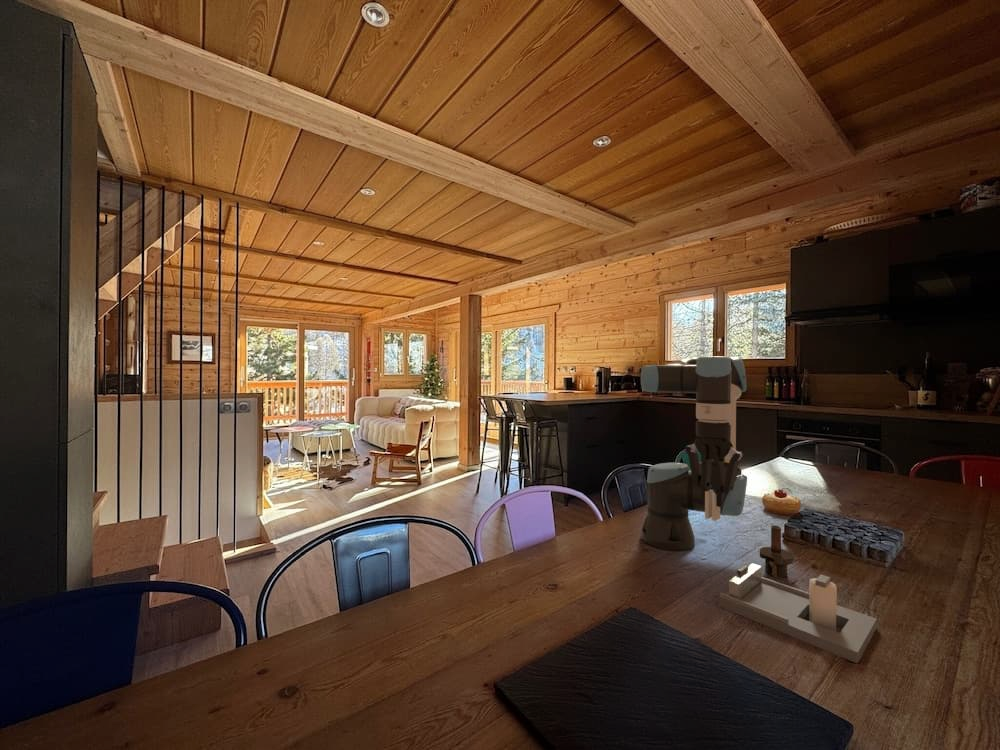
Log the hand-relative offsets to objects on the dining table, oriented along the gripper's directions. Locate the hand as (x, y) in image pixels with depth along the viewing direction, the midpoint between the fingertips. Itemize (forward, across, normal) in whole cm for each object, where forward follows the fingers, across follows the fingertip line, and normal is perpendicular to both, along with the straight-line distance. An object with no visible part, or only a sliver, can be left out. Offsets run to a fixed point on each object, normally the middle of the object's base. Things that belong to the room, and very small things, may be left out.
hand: (712, 518), depth 104 cm
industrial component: (+17, +7, +18) cm, 26 cm away
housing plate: (+16, +17, 0) cm, 24 cm away
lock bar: (+14, +7, 0) cm, 16 cm away
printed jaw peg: (+16, +22, 0) cm, 27 cm away
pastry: (+17, -8, +74) cm, 76 cm away
